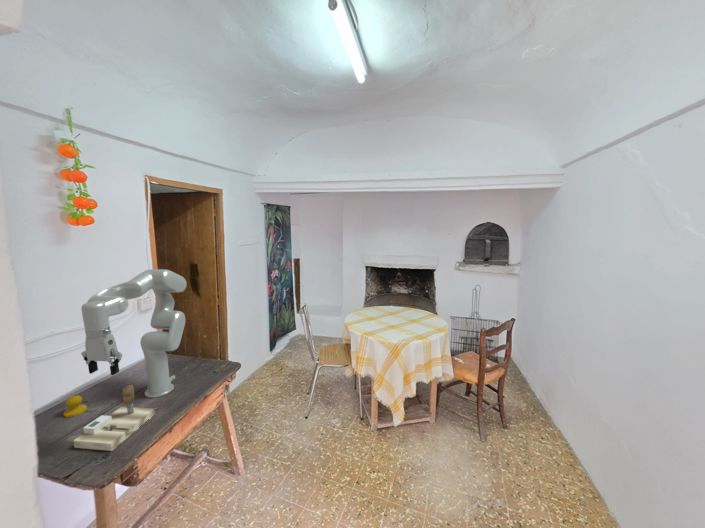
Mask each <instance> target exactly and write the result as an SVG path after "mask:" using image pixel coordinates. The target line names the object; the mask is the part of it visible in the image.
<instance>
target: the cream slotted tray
mask: <svg viewBox="0 0 705 528" xmlns="http://www.w3.org/2000/svg"><path fill="white" fill-rule="evenodd" d="M133 409H134V413H132V414H128V412H127V406H124V405H121V406H120V407H119V408H118V409H116V410H114V411H113V412H112V413H110V414H109V415H108V416H111V417H112V422H110V423H109V424H108V425H106V426H105V427H103V428H102V429H101V430H99V431H98V432H97V433H95V434H85V433H84V432H83V433H82V434H80V435H79V436H77V437H76V438H75V439H74V440H72V441H73V447H74V449H75V448H77V449H85V450H86V449H87V450H88V449H89V450H96V451H97V450H98V451H108V452H109V451H110V452H112V451H113V450H115V449H116V448H117V447H118V446H119V445H121V444H122V443H123V442H124V441H125V440H127V439H128V438H129V437H130V436H132V435H133V434H134V433H135V432H136V431H137V430H138V429H140V428H141V427H142V426H143V425H144V424H146V423H147V422H148V421H149V420H151V419H152V418H153V417H154V416H155V415H156V413H155V412H156V411H155V408H153V407H150V408H149V407H139V406H138V407H136V406H133ZM154 414H155V415H154ZM153 415H154V416H153ZM152 416H153V417H152ZM151 417H152V418H151ZM148 419H149V420H148ZM147 420H148V421H147ZM146 421H147V422H146ZM145 422H146V423H145ZM141 425H142V426H141ZM140 426H141V427H140ZM139 427H140V428H139ZM134 431H135V432H134ZM133 432H134V433H133ZM132 433H133V434H132Z"/></svg>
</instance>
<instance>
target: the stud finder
mask: <svg viewBox="0 0 705 528" xmlns="http://www.w3.org/2000/svg"><path fill="white" fill-rule="evenodd" d="M110 422H112V417H111V416H109V415H103V414H102V415H99V416H98V417H97V418H96V419H94V420H93V421H91V422H90V423H88V424H87V425H85V426H84V427H83V428H82V429H83V430H82V431H83V433H85V434H95V433H97V432H98V431H99V430H101V429H102V428H103V427H105V426H106V425H108V424H109V423H110Z"/></svg>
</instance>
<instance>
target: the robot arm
mask: <svg viewBox="0 0 705 528" xmlns="http://www.w3.org/2000/svg"><path fill="white" fill-rule="evenodd" d="M187 285H188V284H187V279H185V277H184V276H182V275H180V274H178V273H176V272H174V271H171V270H169V269H166V268H165V269H163V268H162V269H155V268H154V269H153V268H151V269H147V270H146V269H145V270H144V271H142V272H141V273H139V274H138V275H136V276H135V277H133V278H131V279H130V280H128V281H126V282H125V281H124V282H123V283H118V284H116V285H113V286H110V287H107V288H104V289H102V290H100V291H99V292H97V293H95V294H93V295H92V296H91V297H89V299H88V300H87V302H85V303H84V304H82V306H81V315H82V316H81V317H82V321H83V327H84V334H85V338H84V339H85V341H84V344H85V345H84V346H85V350H84V351H82V352H80V355H82V356H81V357H83V360H84V361H85V364H86V365H87V366H88V372H89V374H93V373H95V372H97V371H99V366H98V362H108V363H109V364H110V365H109V371H110V375H111V376H114V375H116V374H117V373H119V372H120V367H119V363H120V361H121V360H122V356H123V354H122V353H121V352H119V351H118V346H117V341H116V339H115V337H114V334H113V333H112V330H111V327H110V320H109V317H113V316H117V315H121V314H123V313H125V311H127V309H128V308H129V301H128V300H133V299H137V298H140V297H142V296H143V295H144V294H147V292H149V291H151V290H152V292H153V293H154V296H155V299H156V301H155V302H156V303H155V306H154V308H153V309H154V310H153V312H152V315H151V319H150V327H151V328H152V329H153V330H154V331H149V332H145V333H143V335H142V336H141V338H140V348H141V349H142V353H143V357H144V364H145V374H146V383H147V389H146V390H144V396H145V397H146V398H150V399H153V398H154V399H155V398H159V397H163V396H166V395H168V394H169V393H172V391H173V390H174V387H175V386H174V384H173V383H172V381H174V380H175V379H176V375H171V376H170V372H169V371H170V370H169V362H168V354H167V352H174V351H176V350H177V349H178V348H179V346H180V344H181V342H182V341H181V340H182V338H183V333H184V329H185V326H186V315H185V313H184V312H183V311H180V310H174V308H175V304H176V303H175V302H176V300H175V299H174V297H173V295H172V294H171V293H182V292H184V291H185V290H186V288H187ZM156 330H160V331H156ZM161 330H162V331H161ZM163 330H168V331H163Z"/></svg>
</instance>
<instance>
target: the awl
mask: <svg viewBox="0 0 705 528" xmlns="http://www.w3.org/2000/svg"><path fill="white" fill-rule="evenodd" d="M121 391H122V401H123V403H124V404H125V405H126V407H127V412H128V414H132V413H134V409H133V407H134V403H133V402H134V401H135V400H136V397H135V396H136V395H135V389H134V385H132V384H129V385H126V386H123V387H122V388H121Z"/></svg>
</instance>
